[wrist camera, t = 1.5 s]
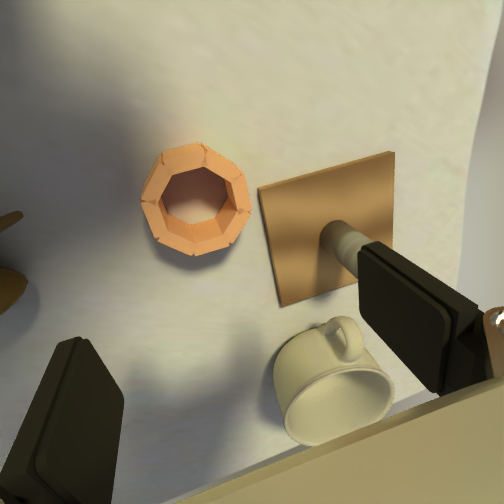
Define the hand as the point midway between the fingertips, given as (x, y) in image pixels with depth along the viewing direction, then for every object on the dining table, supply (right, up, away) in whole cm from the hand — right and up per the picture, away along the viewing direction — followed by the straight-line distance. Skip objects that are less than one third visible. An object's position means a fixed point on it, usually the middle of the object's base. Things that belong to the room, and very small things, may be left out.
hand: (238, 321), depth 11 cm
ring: (-4, +7, +13) cm, 16 cm away
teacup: (+7, -7, +24) cm, 26 cm away
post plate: (+8, +4, +18) cm, 20 cm away
